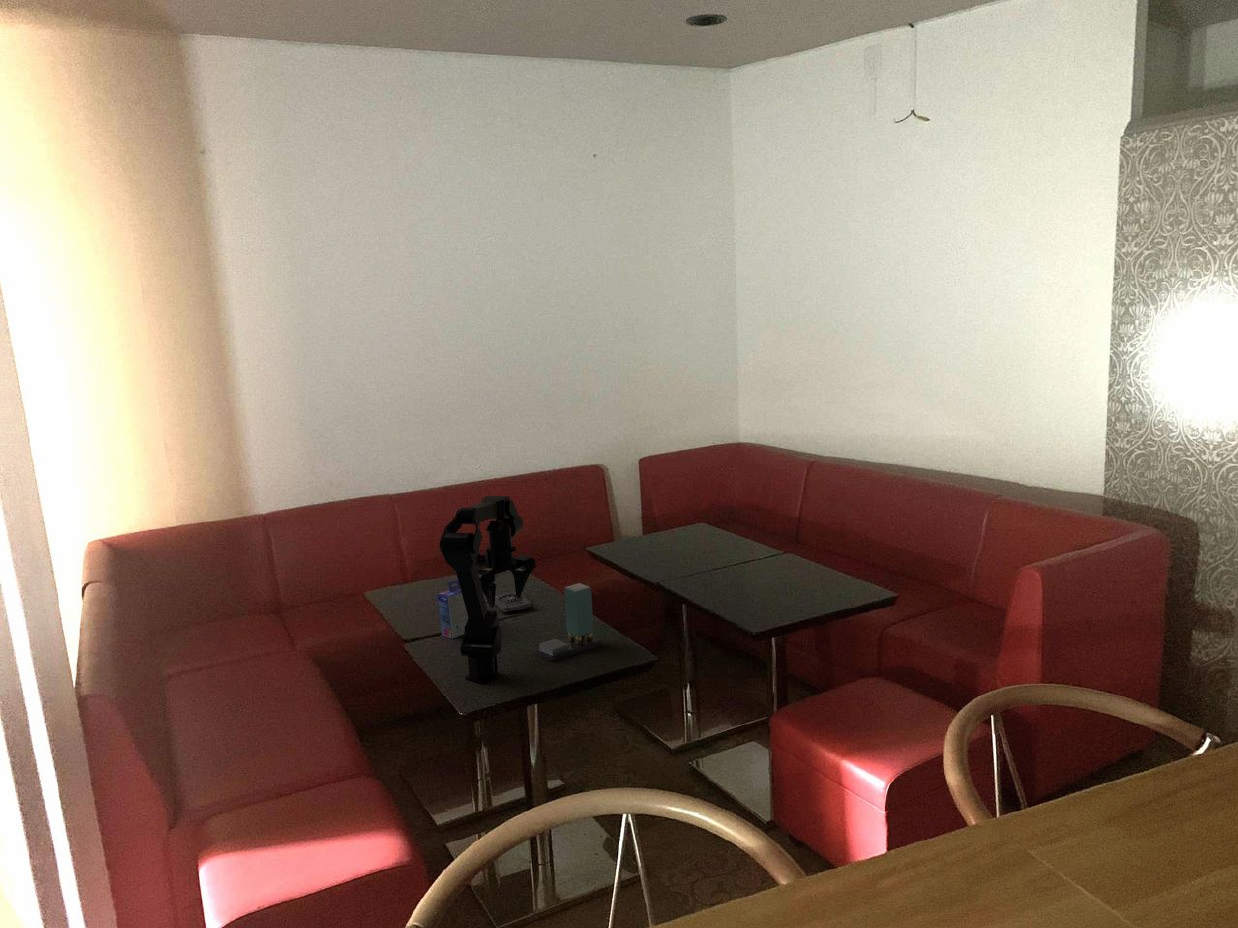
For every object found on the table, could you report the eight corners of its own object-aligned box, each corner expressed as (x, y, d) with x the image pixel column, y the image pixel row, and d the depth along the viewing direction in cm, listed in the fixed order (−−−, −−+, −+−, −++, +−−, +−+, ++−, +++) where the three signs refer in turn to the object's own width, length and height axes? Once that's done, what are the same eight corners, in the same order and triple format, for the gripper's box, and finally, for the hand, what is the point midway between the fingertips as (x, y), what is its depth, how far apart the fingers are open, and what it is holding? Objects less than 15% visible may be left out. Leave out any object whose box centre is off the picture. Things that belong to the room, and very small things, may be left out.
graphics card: (480, 592, 289) (517, 585, 294) (481, 604, 290) (519, 596, 295) (494, 608, 274) (534, 600, 278) (495, 620, 275) (535, 612, 279)
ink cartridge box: (468, 625, 269) (464, 576, 267) (480, 629, 265) (476, 579, 263) (439, 635, 262) (435, 584, 260) (452, 639, 258) (447, 588, 256)
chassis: (552, 661, 238) (551, 648, 237) (534, 653, 244) (533, 640, 244) (602, 644, 248) (601, 632, 247) (584, 637, 254) (583, 625, 253)
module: (578, 637, 244) (575, 590, 242) (566, 632, 248) (563, 587, 246) (593, 632, 248) (590, 586, 245) (582, 627, 251) (579, 582, 249)
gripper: (506, 531, 254) (510, 587, 257) (451, 548, 241) (457, 607, 244) (535, 536, 247) (539, 594, 250) (480, 554, 233) (486, 615, 236)
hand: (505, 602), depth 245 cm, fingers open, 9 cm apart
